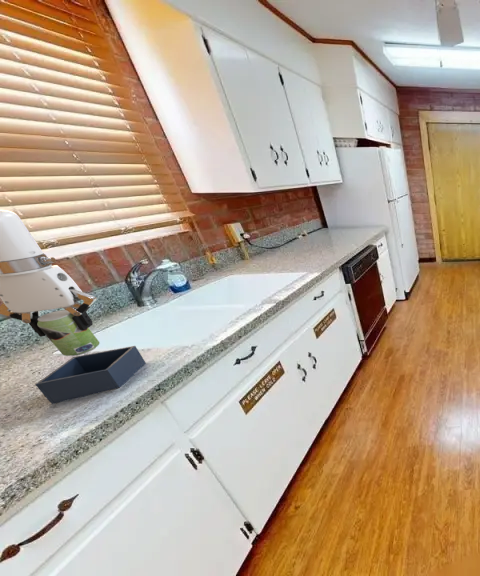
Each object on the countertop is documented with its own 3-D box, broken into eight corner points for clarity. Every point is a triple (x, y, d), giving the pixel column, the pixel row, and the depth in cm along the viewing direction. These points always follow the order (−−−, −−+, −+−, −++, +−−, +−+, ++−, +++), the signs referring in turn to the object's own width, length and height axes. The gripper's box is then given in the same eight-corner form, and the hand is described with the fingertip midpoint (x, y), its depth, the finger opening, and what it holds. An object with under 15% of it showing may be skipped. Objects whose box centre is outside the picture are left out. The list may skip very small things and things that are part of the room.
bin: (51, 404, 75) (34, 384, 72) (87, 375, 85) (73, 356, 82) (120, 389, 80) (107, 370, 77) (146, 363, 90) (135, 345, 87)
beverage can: (99, 342, 83) (73, 304, 78) (104, 350, 79) (77, 310, 74) (61, 354, 78) (31, 314, 73) (65, 362, 74) (33, 321, 69)
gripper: (87, 255, 75) (124, 316, 82) (-24, 265, 68) (28, 331, 75) (64, 264, 69) (106, 329, 76) (-61, 276, 62) (-1, 347, 69)
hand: (67, 330), depth 75 cm, fingers closed on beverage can, 6 cm apart
